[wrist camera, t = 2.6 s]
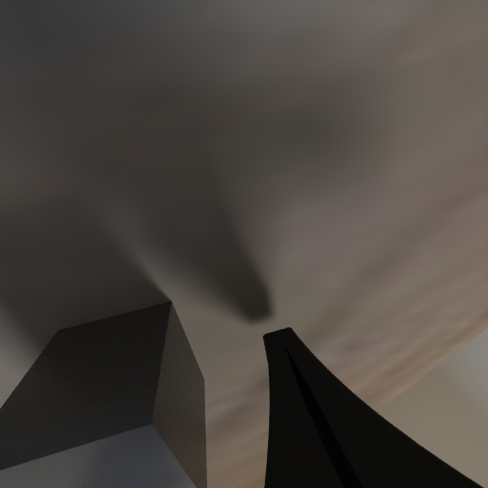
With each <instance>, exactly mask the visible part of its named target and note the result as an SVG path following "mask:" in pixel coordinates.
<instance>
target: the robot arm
mask: <svg viewBox="0 0 488 488" xmlns="http://www.w3.org/2000/svg"><path fill="white" fill-rule="evenodd" d="M263 340H264V345H265V350H266V356H267V361H268V368H269V386H270V413H269V438H268V452H267V466H266V477H265V486H264V488H483V487H482V486H480V485H479V484H477V483H476V482H474V481H472V480H471V479H469V478H468V477H466V476H465V475H463V474H461V473H460V472H459V471H457V470H456V469H454V468H453V467H451V466H450V465H448V464H447V463H445V462H444V461H442V460H441V459H439V458H438V457H436V456H435V455H434V454H432V453H431V452H429V451H428V450H426V449H425V448H424V447H422V446H421V445H419V444H418V443H416V442H415V441H414V440H412V439H411V438H410V437H408V436H407V435H405V434H404V433H403V432H402V431H400V430H399V429H398V428H396V427H395V426H393V425H392V424H391V423H390V422H388V421H387V420H386V419H384V418H383V417H382V416H381V415H379V414H378V413H377V412H376V411H374V410H373V409H372V408H371V407H369V406H368V405H367V404H366V403H365V402H363V401H362V400H361V399H360V398H359V397H357V396H356V395H355V394H354V393H353V392H352V391H351V390H349V389H348V388H347V387H346V386H345V385H344V384H343V383H342V382H341V381H340V380H339V379H338V378H336V377H335V376H334V375H333V374H332V373H331V372H330V371H329V370H328V369H327V368H326V367H325V366H324V365H323V364H322V363H321V362H320V361H319V360H318V359H317V358H316V356H315V355H314V354H313V353H312V352H311V351H310V350H309V349H308V348H307V347H306V345H305V344H304V343H303V342H302V341H301V340H300V338H299V337H298V336H297V335H296V333H295V332H294V331H293V329H292V328H290V327H288V328H285V329H281V330H278V331H274V332H271V333H267V334H265V335H264V336H263Z"/></svg>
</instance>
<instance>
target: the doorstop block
mask: <svg viewBox="0 0 488 488" xmlns="http://www.w3.org/2000/svg"><path fill="white" fill-rule="evenodd" d="M0 488H207V468H206V429H205V389H204V378H203V375H202V373H201V371H200V368H199V366H198V363H197V361H196V359H195V356H194V354H193V351H192V349H191V347H190V344H189V342H188V339H187V337H186V335H185V332H184V330H183V327H182V325H181V323H180V320H179V318H178V315H177V313H176V311H175V308H174V306H173V303H172V301H171V302H168V303H164V304H160V305H156V306H152V307H148V308H144V309H140V310H137V311H133V312H129V313H125V314H121V315H117V316H113V317H109V318H106V319H102V320H98V321H94V322H90V323H86V324H82V325H79V326H75V327H71V328H67V329H63V330H59V331H57V333H56V334H55V335H54V337H53V338H52V340H51V341H50V342H49V344H48V345H47V346H46V348H45V349H44V350H43V352H42V353H41V354H40V356H39V357H38V358H37V360H36V361H35V363H34V364H33V365H32V367H31V368H30V369H29V371H28V372H27V373H26V375H25V376H24V377H23V379H22V380H21V381H20V383H19V384H18V386H17V387H16V388H15V390H14V391H13V392H12V394H11V395H10V396H9V398H8V399H7V400H6V402H5V403H4V404H3V406H2V407H1V409H0Z"/></svg>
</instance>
